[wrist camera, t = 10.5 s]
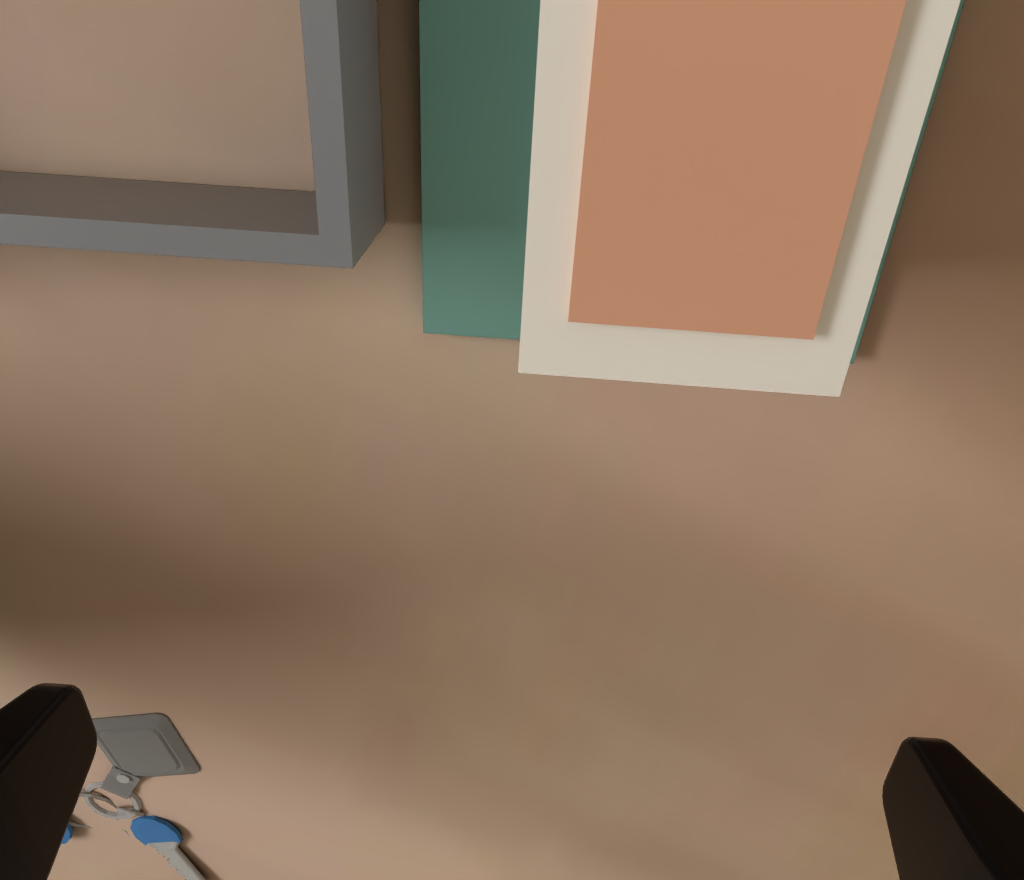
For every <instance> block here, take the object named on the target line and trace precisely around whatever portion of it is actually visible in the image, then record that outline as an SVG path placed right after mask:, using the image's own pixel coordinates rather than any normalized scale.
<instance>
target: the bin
mask: <svg viewBox="0 0 1024 880" xmlns="http://www.w3.org/2000/svg"><path fill="white" fill-rule="evenodd" d="M300 10H301V22H302V34H303V46H304V58H305V70H306V82H307V95H308V107H309V119H310V131H311V143H312V155H313V167H314V179H315V192H309V191H294V190H279V189H264V188H248V187H233V186H218V185H203V184H188V183H173V182H158V181H143V180H128V179H113V178H98V177H83V176H68V175H53V174H38V173H23V172H8V171H0V244H9V245H24V246H38V247H53V248H67V249H81V250H96V251H110V252H124V253H139V254H153V255H167V256H182V257H196V258H210V259H225V260H239V261H253V262H268V263H282V264H297V265H311V266H325V267H340V268H353V267H354V266H355V265H356V263H357V262H358V260H359V259H360V258H361V256H362V255H363V253H364V252H365V251H366V249H367V248H368V247H369V245H370V244H371V242H372V241H373V240H374V238H375V237H376V236H377V234H378V233H379V231H380V230H381V229H382V227H383V226H384V224H385V209H384V182H383V155H382V128H381V102H380V75H379V48H378V22H377V0H300Z"/></svg>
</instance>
